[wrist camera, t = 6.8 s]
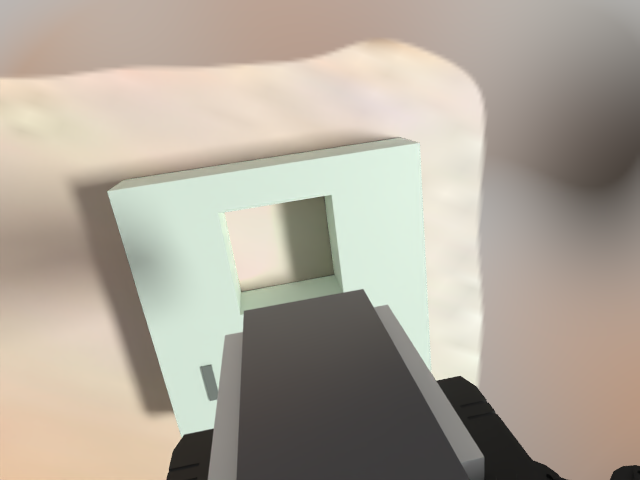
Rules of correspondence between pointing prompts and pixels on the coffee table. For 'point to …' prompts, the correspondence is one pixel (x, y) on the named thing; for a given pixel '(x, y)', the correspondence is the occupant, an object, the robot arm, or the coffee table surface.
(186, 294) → the outlet plate
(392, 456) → the charger block
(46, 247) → the coffee table surface
